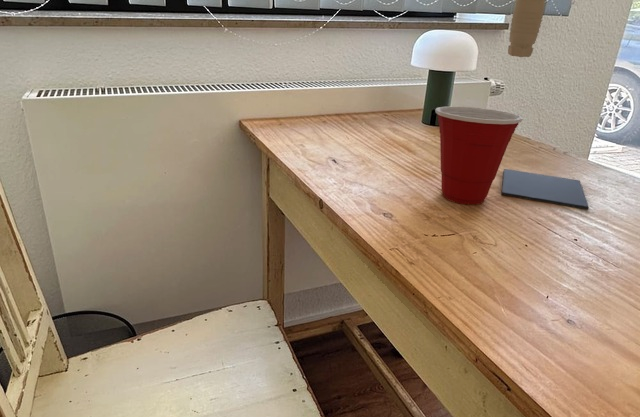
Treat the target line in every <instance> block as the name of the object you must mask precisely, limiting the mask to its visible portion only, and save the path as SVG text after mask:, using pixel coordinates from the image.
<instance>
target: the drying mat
mask: <svg viewBox="0 0 640 417" xmlns="http://www.w3.org/2000/svg"><path fill="white" fill-rule="evenodd" d="M501 196H507V197H512V198H519V199H523V200H524V199H525V200H530V201H536V202H542V203H547V204H555V205H560V206H566V207H571V208H578V209H583V210H589V203H588V200H587V197H586V194H585V192H584V190H583V186H582V183H581V180H580V179H574V178H567V177H561V176H554V175H547V174H541V173H534V172H528V171H522V170H514V169H509V168H503V174H502V186H501Z"/></svg>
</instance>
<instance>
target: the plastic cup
mask: <svg viewBox="0 0 640 417" xmlns="http://www.w3.org/2000/svg"><path fill="white" fill-rule="evenodd" d="M434 111H435V114H437V115H436V116H437V119H438V125H439V128H438V129H439V138H440V139H439V141H440V142H439V144H440V147H439V148H440V172H441V194H442V196H443V197H444V198H445V199H446V200H448V201H449V202H453V203H456V204H462V205H470V206H471V205H473V206H475V205H481V204H482V203H484V202H485V201H486V198H487V197H488V194H489V192H490V190H491V187H492V185H493V182H494V180H495V178H496V177H497V173H498V171H499V168H500V165H501V164H502V161H503V158H504V156H505V153H506V151H507V149H508V146H509V143H510V142H511V140H512V137H513V134H515V131H516V129H517V128H518V126H519V123H522V121H523V119H524V118H523V115H519V114H516V113H513V112H508V111H505V110H504V111H503V110H497V109H491V108H482V107H473V106H440V107H438V106H437V107H436V108H435V110H434Z"/></svg>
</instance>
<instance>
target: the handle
mask: <svg viewBox="0 0 640 417" xmlns="http://www.w3.org/2000/svg"><path fill="white" fill-rule="evenodd" d="M545 5H546V0H515V4H514V8H513V13H512V17H511V22H510V29H509V31H510V32H509V40H508V42H509V43H510V45H508V48H507V54H508V55H509V56H511V57H519V58H529V57H531V56H532V54H533V51H534V49H535V48H534V47H533V45H535V43H536V42H537V38H538V35H539V33H540V28H541V24H542V21H543V20H542V19H543V16H544V15H543V14H544V11H545Z"/></svg>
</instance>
